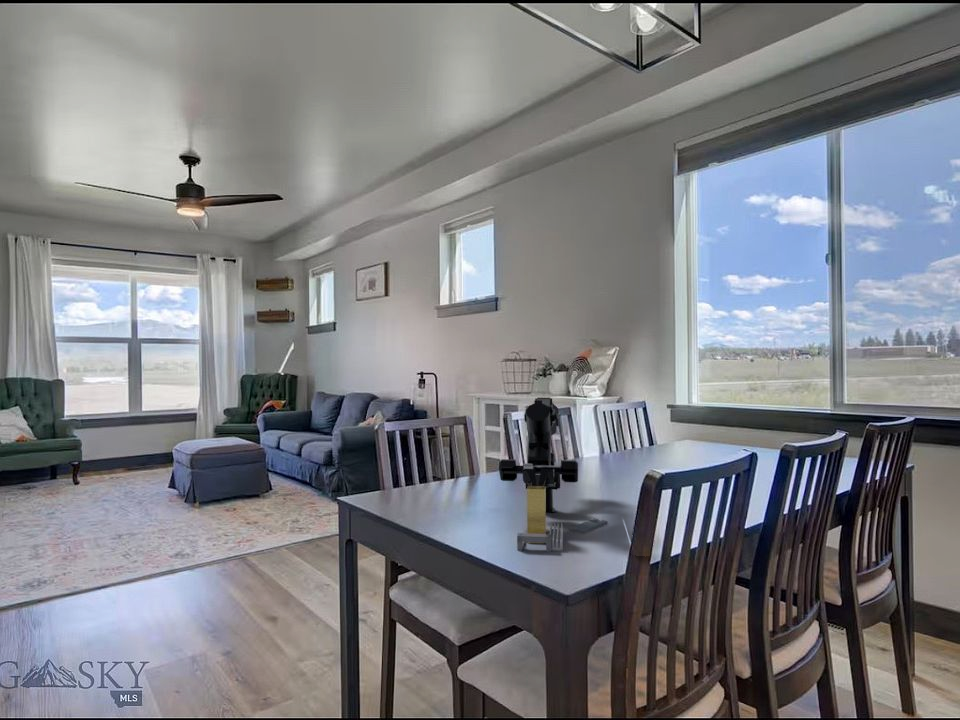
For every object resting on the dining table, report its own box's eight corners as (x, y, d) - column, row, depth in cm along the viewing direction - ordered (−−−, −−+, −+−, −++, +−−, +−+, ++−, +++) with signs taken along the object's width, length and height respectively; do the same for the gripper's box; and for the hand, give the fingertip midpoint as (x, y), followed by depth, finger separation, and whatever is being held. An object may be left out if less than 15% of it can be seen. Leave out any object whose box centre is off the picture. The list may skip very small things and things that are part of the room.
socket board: (512, 533, 136) (512, 516, 136) (564, 534, 135) (563, 517, 135) (504, 556, 121) (504, 537, 121) (563, 558, 119) (563, 539, 119)
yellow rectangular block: (528, 534, 132) (527, 485, 132) (546, 534, 132) (545, 486, 132) (526, 542, 126) (525, 492, 126) (544, 543, 126) (544, 492, 126)
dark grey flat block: (569, 536, 135) (569, 527, 135) (593, 525, 143) (593, 517, 143) (584, 539, 133) (584, 530, 133) (607, 529, 140) (607, 520, 140)
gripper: (577, 465, 150) (578, 520, 139) (504, 464, 153) (500, 518, 142) (577, 439, 142) (578, 495, 131) (501, 438, 145) (496, 493, 134)
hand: (537, 501), depth 135 cm, fingers closed
